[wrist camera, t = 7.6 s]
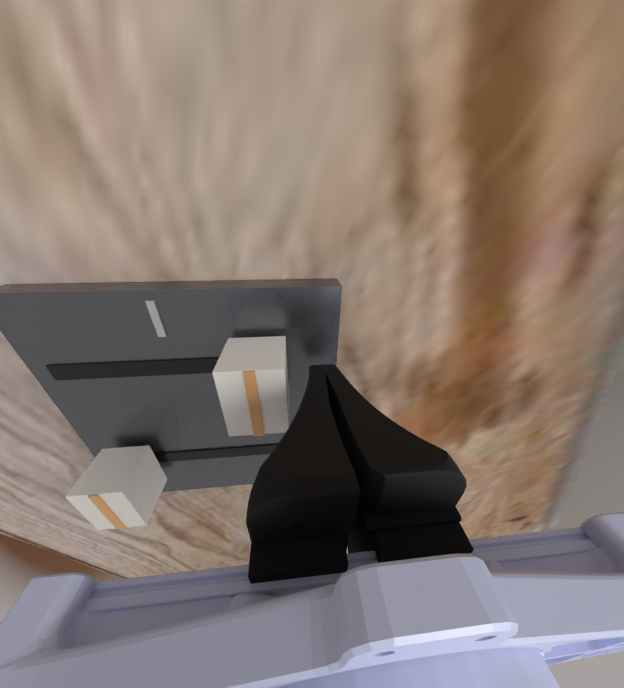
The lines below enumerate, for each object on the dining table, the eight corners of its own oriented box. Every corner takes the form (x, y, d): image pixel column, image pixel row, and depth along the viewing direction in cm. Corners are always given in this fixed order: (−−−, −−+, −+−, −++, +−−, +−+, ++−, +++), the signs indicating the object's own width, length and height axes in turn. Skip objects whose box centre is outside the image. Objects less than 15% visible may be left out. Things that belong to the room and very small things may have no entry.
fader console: (325, 461, 22) (328, 478, 20) (134, 476, 20) (123, 496, 19) (336, 278, 13) (342, 286, 12) (7, 284, 12) (-31, 294, 10)
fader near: (288, 392, 14) (289, 433, 12) (239, 395, 14) (228, 438, 11) (285, 336, 12) (284, 370, 10) (228, 338, 12) (211, 374, 9)
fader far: (167, 479, 18) (145, 527, 15) (125, 482, 17) (96, 531, 15) (149, 445, 16) (120, 493, 13) (101, 448, 15) (62, 498, 13)
